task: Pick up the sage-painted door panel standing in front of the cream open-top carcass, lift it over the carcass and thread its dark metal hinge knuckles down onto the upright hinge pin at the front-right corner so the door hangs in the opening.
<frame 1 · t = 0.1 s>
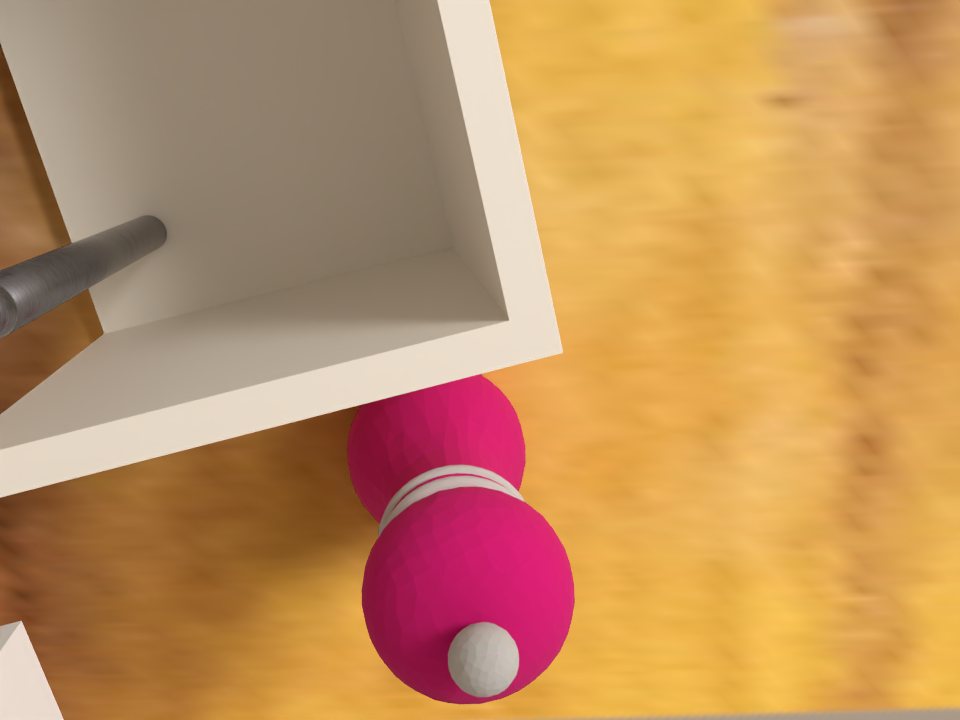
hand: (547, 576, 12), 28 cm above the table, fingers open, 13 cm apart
carcass: (227, 40, 35), on the table
hinge pin: (155, 229, 37), resting on carcass
pepper mill: (428, 416, 40), on the table
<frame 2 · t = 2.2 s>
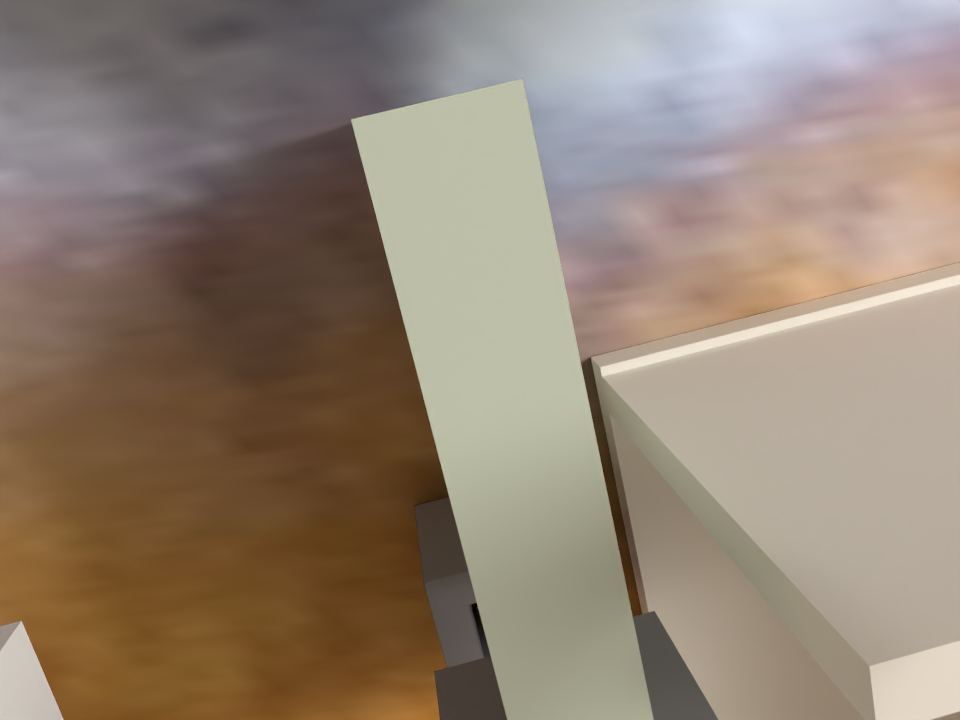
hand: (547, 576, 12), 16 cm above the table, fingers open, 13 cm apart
carcass: (865, 602, 32), on the table
door: (509, 555, 29), on the table
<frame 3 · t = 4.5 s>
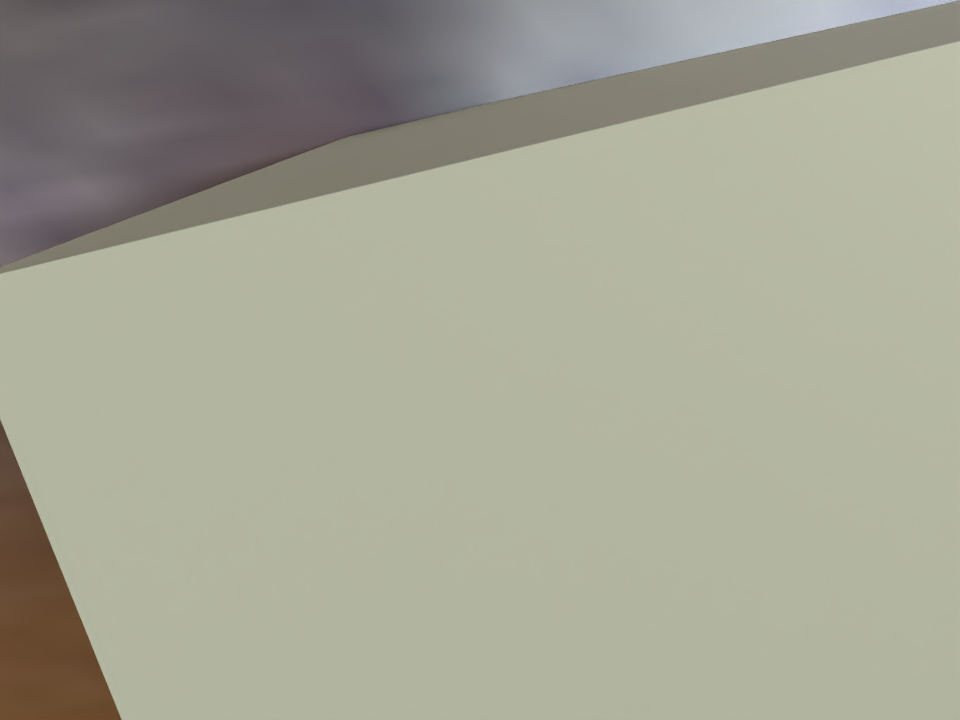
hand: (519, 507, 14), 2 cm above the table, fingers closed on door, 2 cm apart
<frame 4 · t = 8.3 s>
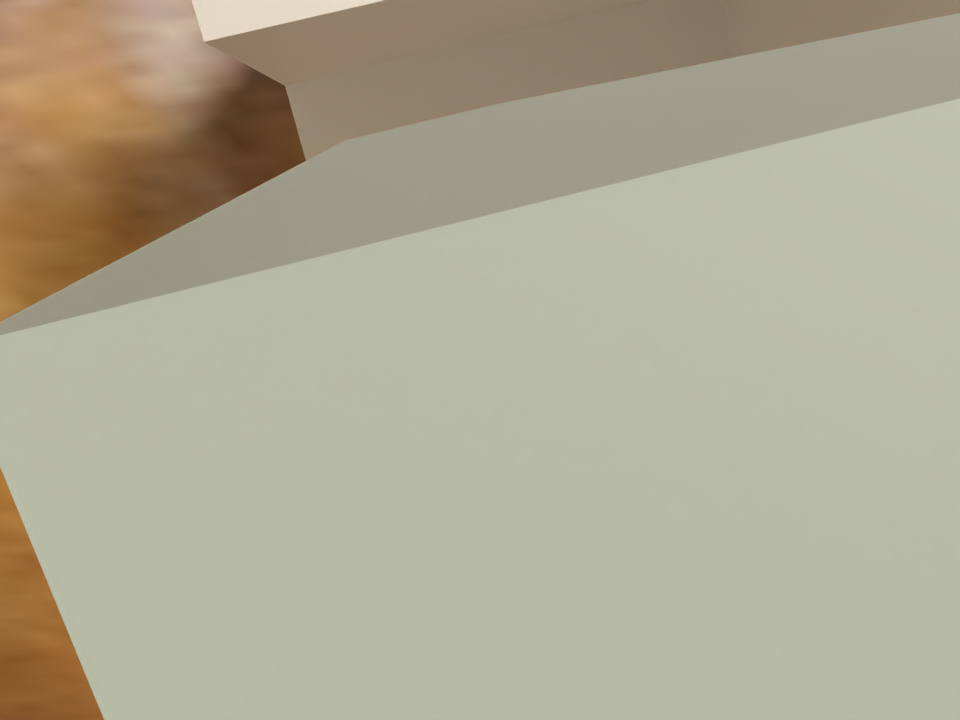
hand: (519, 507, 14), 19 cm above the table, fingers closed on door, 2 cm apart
carcass: (575, 312, 33), on the table
when the fingers open (4 cm above the table, at t = 12.0 s): door stays where it is, resting on carcass.
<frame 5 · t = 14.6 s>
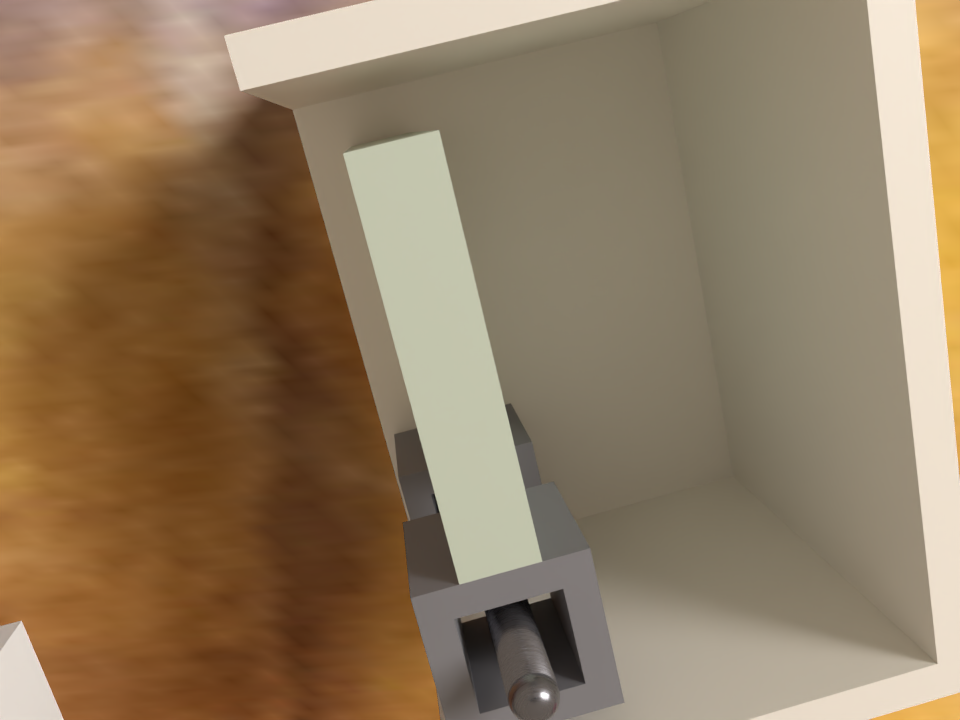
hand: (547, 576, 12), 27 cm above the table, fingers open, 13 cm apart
carcass: (539, 299, 39), on the table
hinge pin: (463, 464, 40), resting on carcass
door: (466, 473, 39), point 1 cm above the table, touching carcass
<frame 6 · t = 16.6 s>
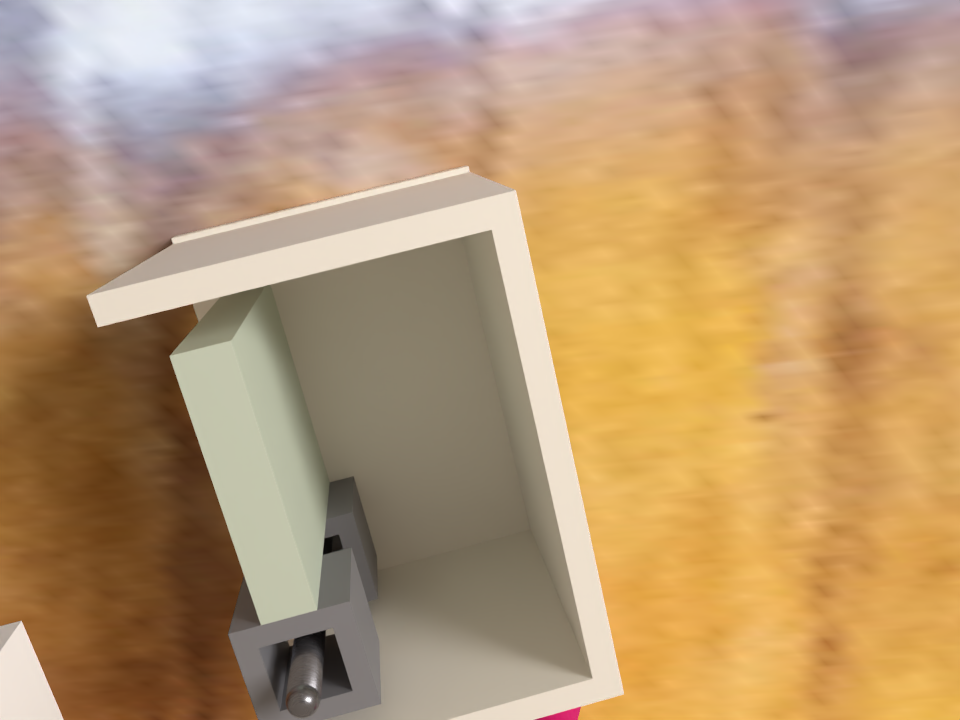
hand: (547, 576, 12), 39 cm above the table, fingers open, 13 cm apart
carcass: (376, 397, 51), on the table
hinge pin: (322, 520, 52), resting on carcass
door: (321, 528, 51), point 1 cm above the table, touching carcass
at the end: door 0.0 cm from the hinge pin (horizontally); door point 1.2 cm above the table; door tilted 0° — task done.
